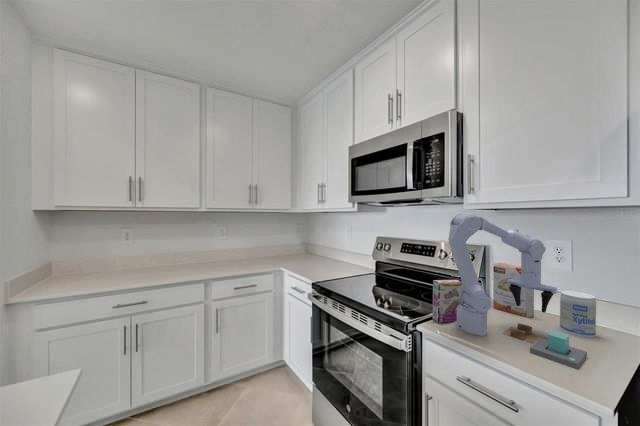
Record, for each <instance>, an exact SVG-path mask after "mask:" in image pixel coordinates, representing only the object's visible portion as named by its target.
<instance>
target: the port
mask: <svg viewBox="0 0 640 426" xmlns="http://www.w3.org/2000/svg"><path fill="white" fill-rule="evenodd" d="M529 353H530V354H533V355H536V356H539V357H541V358H545V359H547V360H551V361H552V362H555V363H559V364H562V365H565V366H567V367H570V368H573V369H576V370H579V369H580V368H581V366H582V365H583V364H584V362H585V361H586V359H587V357H588V351H587V350H583V349H579V348H575V347H573V346H570V345H569V354H568V356H565V355H562V354H559V353H556V352H553V351H550V350H548V338H543V337H540V338H538V339H537V340H536V341H535V342H534V343H533V344H532V345H531V346H530V347H529Z"/></svg>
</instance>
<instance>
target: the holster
mask: <svg viewBox="0 0 640 426" xmlns="http://www.w3.org/2000/svg"><path fill="white" fill-rule="evenodd" d="M516 326H517V327H513V326H511V327H509V328H508V329H506V330H505V331H504V332H502V333H501V335H504V336H508V337H512V338H515V339H517V340H520V341H524V342H527V343H528V344H532V345H534V344H535V343H536V342H537V341H538V340H539V339H541V338H542V335H539V334H536V333H533V326H530V325H526V324H523V323H520V322H518V323H517V325H516Z"/></svg>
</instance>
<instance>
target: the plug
mask: <svg viewBox="0 0 640 426" xmlns="http://www.w3.org/2000/svg"><path fill="white" fill-rule="evenodd" d="M547 340H548V350H550V351H553V352H556V353H559V354H562V355H565V356H568V354H569V346H570V336H569V335H567V334H564V333H559V332H557V331H553V330H552V331H550V332H549V333H548V334H547Z"/></svg>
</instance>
